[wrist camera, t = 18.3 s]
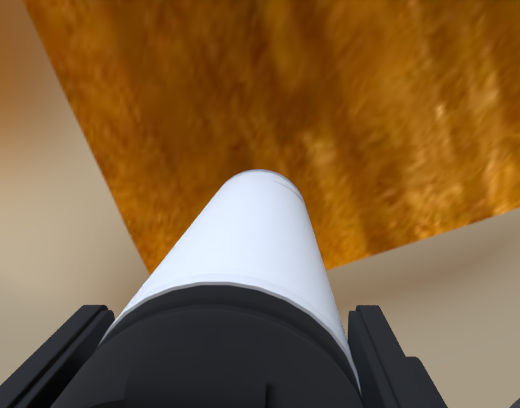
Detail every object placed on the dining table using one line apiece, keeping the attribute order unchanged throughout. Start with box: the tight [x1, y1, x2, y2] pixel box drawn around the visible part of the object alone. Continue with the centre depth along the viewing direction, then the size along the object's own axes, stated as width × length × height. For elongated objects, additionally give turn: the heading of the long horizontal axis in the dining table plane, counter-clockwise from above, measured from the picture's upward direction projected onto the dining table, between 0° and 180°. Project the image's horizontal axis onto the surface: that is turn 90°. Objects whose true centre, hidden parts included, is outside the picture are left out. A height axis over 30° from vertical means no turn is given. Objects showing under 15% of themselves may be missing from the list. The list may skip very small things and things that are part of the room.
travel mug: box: [50, 169, 364, 408], centre depth 15 cm, size 6×7×20 cm
